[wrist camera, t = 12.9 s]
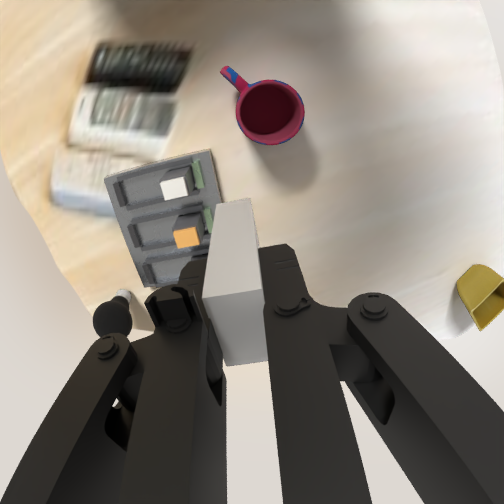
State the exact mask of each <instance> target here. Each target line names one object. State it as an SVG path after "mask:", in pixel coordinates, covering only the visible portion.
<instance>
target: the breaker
mask: <svg viewBox="0 0 504 504" xmlns="http://www.w3.org/2000/svg"><path fill="white" fill-rule="evenodd" d="M159 182H160V185H161V189H162V192H163V196H164V199H165V201H166V200H170V199H175V198H179V197H184V196H188V195H191V193H192V191H193V189H194V186H195V182H194V178H193V174H192V170H191V166H189V167H184V168H180V169H176V170H172V171H168V172H166V173H165V174H164V175H163V177H162V178H161V179H160V180H159Z"/></svg>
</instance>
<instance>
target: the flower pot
mask: <svg viewBox="0 0 504 504" xmlns="http://www.w3.org/2000/svg"><path fill="white" fill-rule="evenodd" d="M457 290H458V293H459V296H460V298H461V300H462V301H463V303H464V304H465V306H466V308H467V310H468V312H469V314H470V315H471V317H472V319H473V320H474V322H475V324H476V326H477V327H478V329H479V331H482V330H483V329H484V328H485V327H486V326H487V325H488V324H490V322H492V321H493V320H494V319H495V318H496V317H497V316H498V315H499V314H500V313H501V312H502V311H503V309H504V278H502V277H501V276H500V275H499V274H497V273H496V272H495V271H493V270H492V269H491V268H489V267H487V266H485V265H480V264H476V265H473V266H472V267H471V268H470V269H469V270H468V271H467V272H466V273H465V274H464V275H463V276H462V277H461V278H460V279H459V280H458V281H457Z"/></svg>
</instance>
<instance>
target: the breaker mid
mask: <svg viewBox="0 0 504 504" xmlns="http://www.w3.org/2000/svg"><path fill="white" fill-rule="evenodd" d="M172 232H173V235H174V238H175V241H176V244H177V247H178V249H179V248H184V247H189V246H195V245H199V244H201V243H202V241H203V236H204V232H205V228H204V224H203V220H202V216H201V213H200V212H199V213H194V214H190V215H185V216H180V217H177V220H176V222H175V224H174V226H173V229H172Z"/></svg>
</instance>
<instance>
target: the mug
mask: <svg viewBox="0 0 504 504" xmlns="http://www.w3.org/2000/svg"><path fill="white" fill-rule="evenodd" d="M220 73H221V74H222V75H223V76H224V77H225V78H226V79H227V80H228V81H229V82H230V83H231V84H232V85H233V86H234V87H235V88H236V89H237V90H238V91H239V92H240V93H241V94H240V96H239V98H238V101H237V105H236V119H237V122H238V125H239V127H240V129H241V130H242V132H243V133H244V134H245V135H246V136H247V137H248V138H250V139H251V140H253V141H255V142H257V143H260V144H264V145H277V144H281V143H284V142H286V141H288V140H290V139H291V138H292V137H294V136H295V135H296V134H297V133H298V131H299V130H300V128H301V126H302V124H303V121H304V113H305V111H304V105H303V102H302V99H301V97H300V96H299V94H298V93H297V92H296V90H294V89H293V88H292V87H291V86H289V85H288V84H286V83H284V82H281V81H277V80H262V81H259V82H256V83H254V84H248V83H247V82H246V81H245V80H244V79H243V78H242V77H241V76H239V75H238V74H237V73H236V72H235V71H234V70H233V69H231V68H230V67H229V66H225V67H223V68H222V69H221V71H220Z"/></svg>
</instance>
